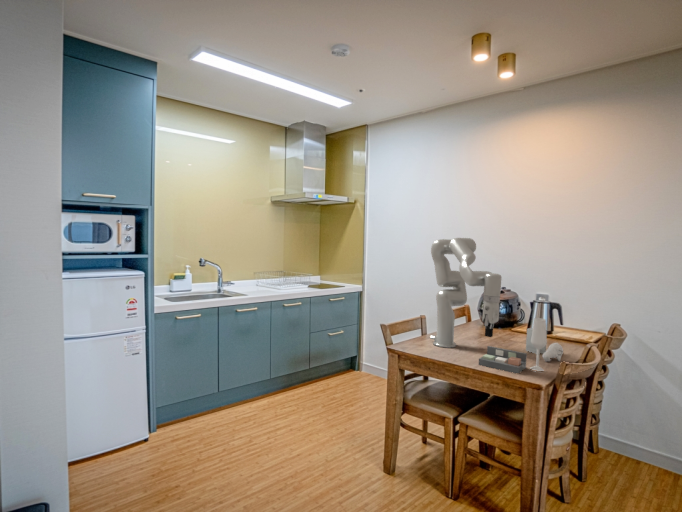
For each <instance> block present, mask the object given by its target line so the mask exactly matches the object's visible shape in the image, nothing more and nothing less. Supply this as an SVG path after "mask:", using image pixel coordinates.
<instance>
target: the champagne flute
mask: <svg viewBox="0 0 682 512" xmlns="http://www.w3.org/2000/svg"><path fill="white" fill-rule="evenodd" d="M546 321H547V319H545V318H543V317H535V318H534V319H533V323H532V325H533V326H532V328H533V330H532V337H531V343H532V345H533V346H534V347H535V348H536V349H537V354H536V356H535V357H536V361H535V365H533V366H531V367H529V368H530V369H532V370H537V371H544V370H545V369H544V368H543V367H541V366H539V365H540V354H539V353H540V349H542V348H543V347H545V346H546V347H547V343H548V342H547V341H548V340H547V338H546V330H547V323H546ZM530 369H529V370H530ZM532 370H531V371H532Z"/></svg>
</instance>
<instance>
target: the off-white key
mask: <svg viewBox="0 0 682 512" xmlns="http://www.w3.org/2000/svg"><path fill="white" fill-rule="evenodd" d="M495 361H497V362H501V363H507V362H508V359H507V358H502V357H497V358H495Z"/></svg>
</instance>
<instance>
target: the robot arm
mask: <svg viewBox="0 0 682 512" xmlns="http://www.w3.org/2000/svg"><path fill="white" fill-rule="evenodd" d="M476 250H477V242H476V241H475V240H474V239H473V238H470V237H469V238H468V237H455V238H452V239H445V238H443V239H436V240H435V241H433V242H432V244H431V247H430V255H431V257H432V261H433V263H434V272H435V279H436V284H437V285H438V287H440V288H445V289H440V290H439V291H437V293H436V295H435V296H436V297H435V298H436V308H437V314H436V315H437V317H436V335H433V334H430V336H429V337H430V340H433V345H434V346H436V347H439V348H448V349H449V348H451V349H452V348H456V347H457V343H456V342H454V339H455V319H456V318H455V311H454V310H453V308H452V307H461V306H465V304H466V303H467V302H468V301H467V300H468V295H467V293H468V292H467V286H470V287H483V296H482V297H483V298H482V302H484V303H483V308H482V317H481V321H482V323H484V328H485V329H484V330H485V331H484V336H485V337H487V338H492V337H493V335H494V326H495V324H496V323H497V322H499V321H500V319H499V318H500V302H501V290H502V275H501V274H499V273H493V272H490V271H486V270H472V269H471V268H470V266H472V264H473V263H475V261H476V254H475V252H476ZM446 255H454V256H455V257H456V259H457V261H458V262H459V267H458V269H459V270H452V269H451V265H450V264H451V263H450V261H449V260H448V258H447V256H446ZM466 284H467V286H466ZM446 288H448V289H446ZM451 288H452V289H451Z"/></svg>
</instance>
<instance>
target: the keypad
mask: <svg viewBox="0 0 682 512" xmlns="http://www.w3.org/2000/svg"><path fill="white" fill-rule="evenodd" d="M486 354H488V355H492V356H495V358H497V357H502V358H507V359H509V358H510V357H515V358H519V359H521V365H519V366H515V365H510V364H508V362H507V363H501V362H497V361H495V359H494V360H488V359H483V358H482V356H481V357H479V358H478V366H481V365H482V367H485V368H490V367H491V369H494V368H496V370H499V369H500V371H503V370H504V371H503V372H507V371H508V373H512V372H513V373H512V374H516V373H519V374H520V373H522V370H523V369H524V370H525V369H527V355H528V354H527V352H526V353H525V352H521V351H516V350H512V349H506V348H502V347H501V348H500V347H496V346H491V345H487V349H486ZM524 370H523V371H524Z"/></svg>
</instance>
